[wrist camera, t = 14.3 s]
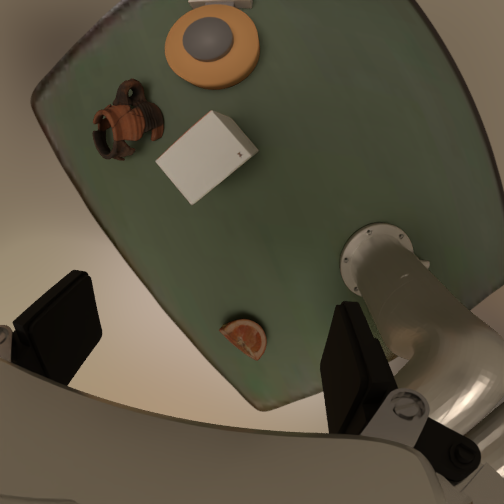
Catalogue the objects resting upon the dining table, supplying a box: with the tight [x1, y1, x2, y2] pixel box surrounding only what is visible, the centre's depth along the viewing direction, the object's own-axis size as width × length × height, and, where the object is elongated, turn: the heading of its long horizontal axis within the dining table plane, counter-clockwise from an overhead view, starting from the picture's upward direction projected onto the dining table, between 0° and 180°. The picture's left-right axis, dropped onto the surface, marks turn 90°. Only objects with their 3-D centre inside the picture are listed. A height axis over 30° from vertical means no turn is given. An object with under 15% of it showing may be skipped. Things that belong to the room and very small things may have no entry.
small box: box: [156, 110, 259, 205], centre depth 34 cm, size 8×6×13 cm
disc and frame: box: [165, 0, 260, 90], centre depth 29 cm, size 12×22×7 cm, turn 176°
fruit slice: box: [219, 319, 267, 360], centre depth 48 cm, size 8×7×5 cm
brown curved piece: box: [93, 79, 164, 161], centre depth 36 cm, size 12×10×8 cm
